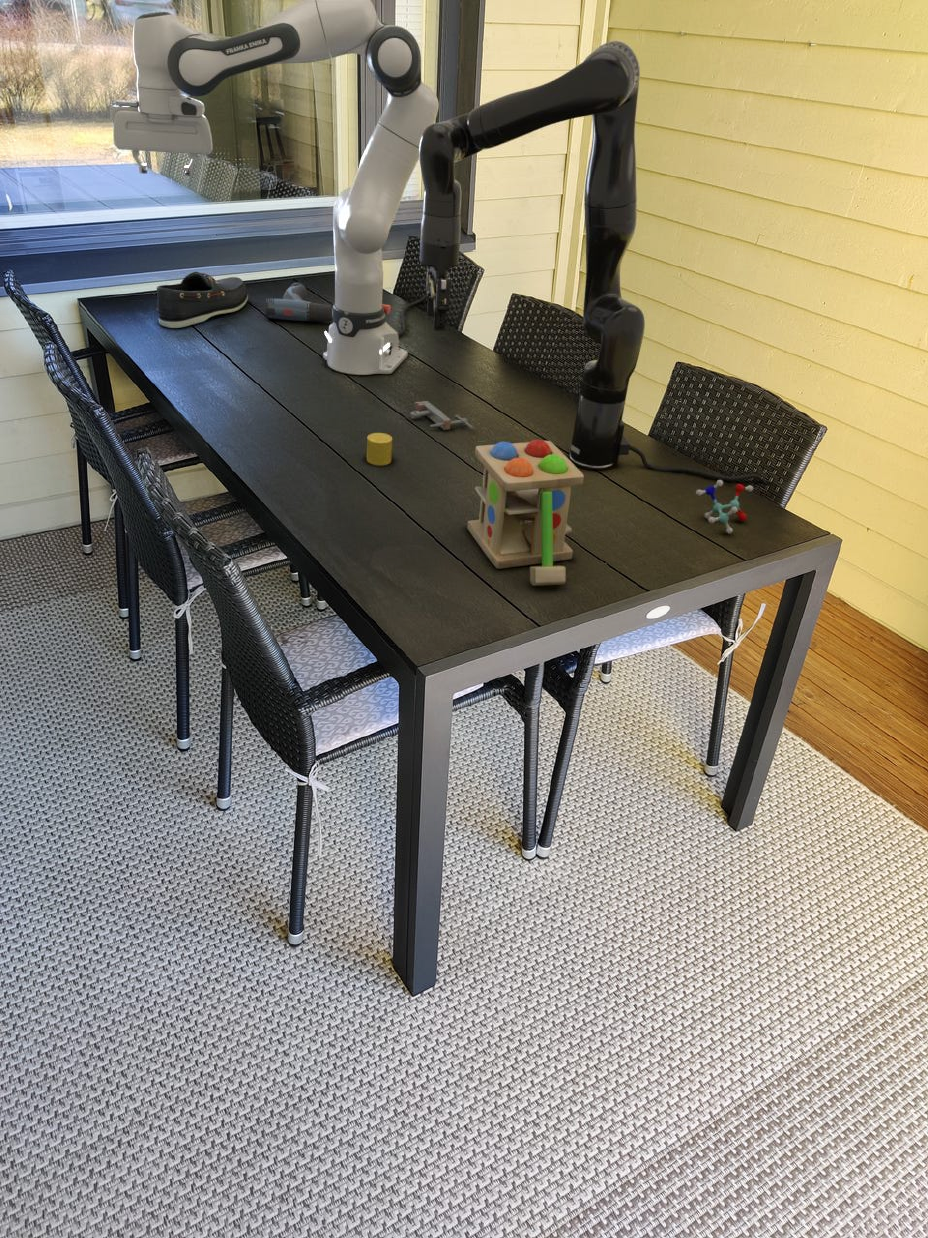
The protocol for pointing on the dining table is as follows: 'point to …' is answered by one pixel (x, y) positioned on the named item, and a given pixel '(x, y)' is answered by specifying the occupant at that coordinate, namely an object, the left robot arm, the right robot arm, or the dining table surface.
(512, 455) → the pounding bench toy
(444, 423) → the clamp
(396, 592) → the dining table surface
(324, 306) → the power drill
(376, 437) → the yellow cylinder
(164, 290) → the boat shoe
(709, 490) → the molecular model
